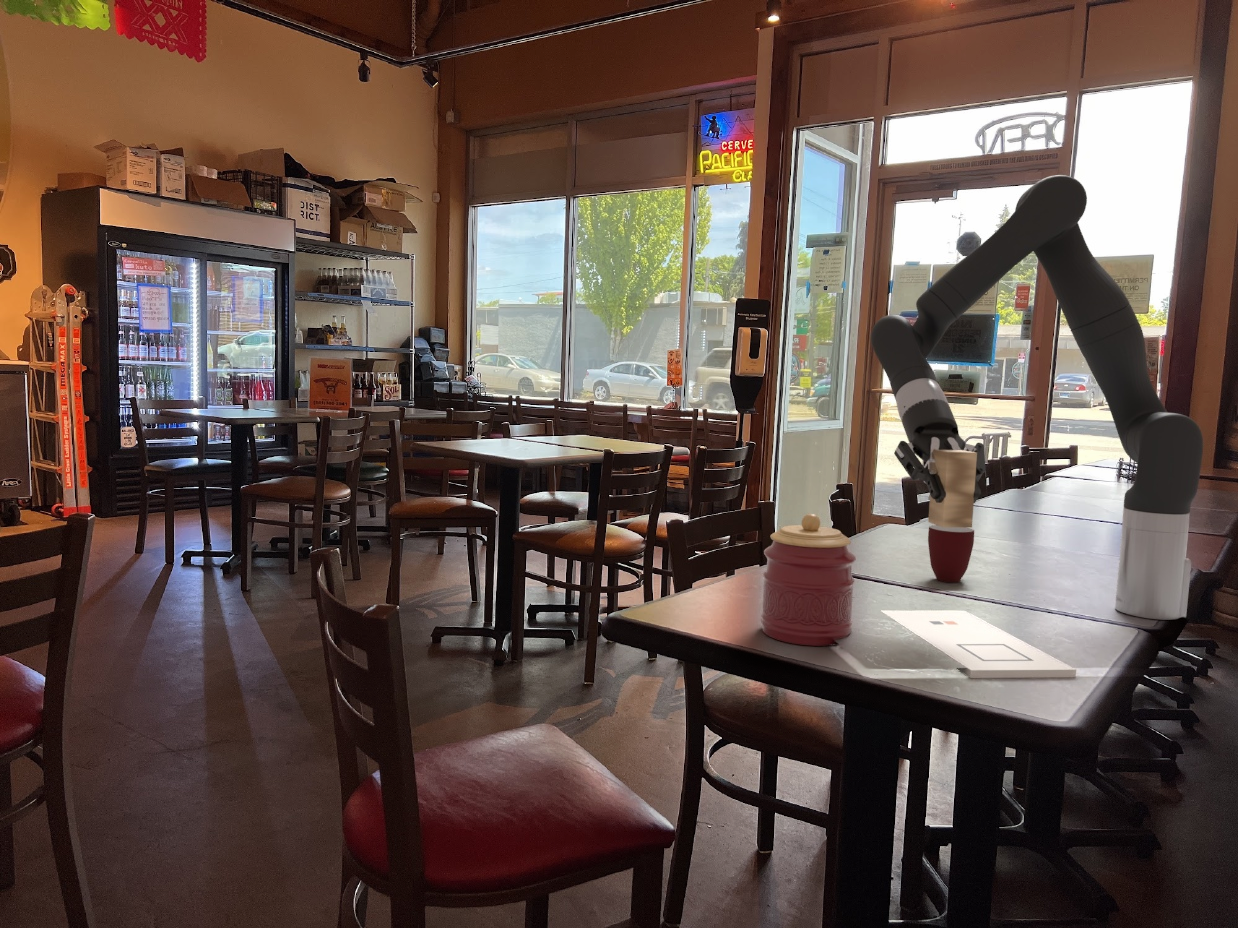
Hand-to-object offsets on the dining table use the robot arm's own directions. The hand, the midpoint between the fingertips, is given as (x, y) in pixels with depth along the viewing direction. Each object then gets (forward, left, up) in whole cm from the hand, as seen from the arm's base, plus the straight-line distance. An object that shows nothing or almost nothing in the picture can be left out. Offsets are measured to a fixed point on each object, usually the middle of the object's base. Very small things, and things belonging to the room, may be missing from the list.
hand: (958, 499), depth 123 cm
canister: (+22, 0, -20) cm, 30 cm away
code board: (0, +5, -20) cm, 21 cm away
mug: (-18, -35, -20) cm, 44 cm away
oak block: (0, -2, -4) cm, 4 cm away
